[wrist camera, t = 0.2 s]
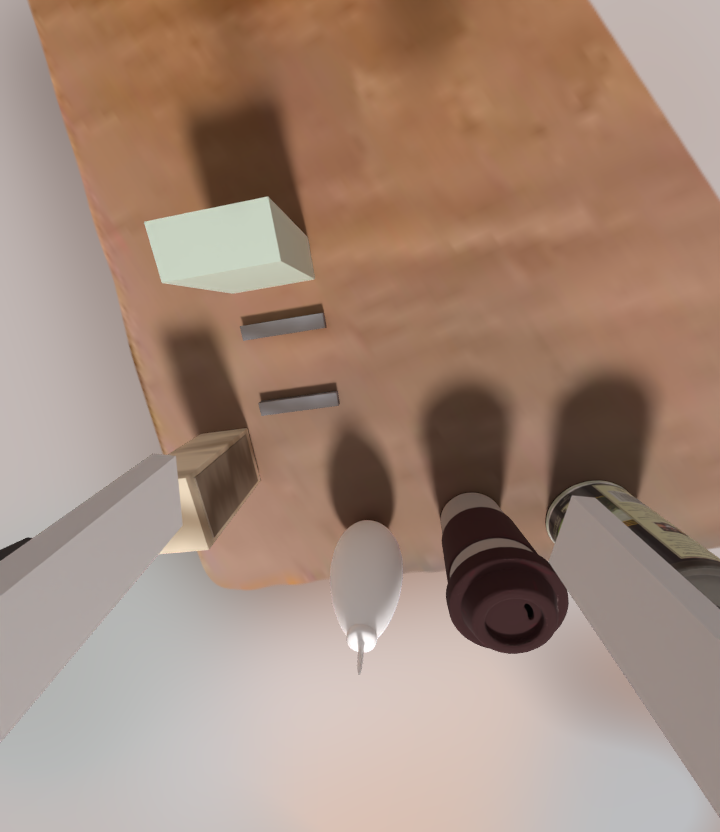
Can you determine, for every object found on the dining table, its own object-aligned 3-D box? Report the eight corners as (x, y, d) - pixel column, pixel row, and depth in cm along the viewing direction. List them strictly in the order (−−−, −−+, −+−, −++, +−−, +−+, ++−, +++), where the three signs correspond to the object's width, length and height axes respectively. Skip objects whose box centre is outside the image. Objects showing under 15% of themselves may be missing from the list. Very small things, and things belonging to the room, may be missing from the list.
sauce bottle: (343, 499, 42) (315, 626, 25) (405, 510, 42) (420, 647, 25) (334, 550, 44) (303, 700, 27) (393, 562, 44) (399, 719, 27)
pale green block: (223, 253, 35) (144, 222, 23) (307, 237, 34) (268, 196, 22) (233, 293, 36) (161, 282, 24) (315, 279, 35) (280, 261, 23)
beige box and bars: (171, 337, 38) (66, 348, 25) (323, 313, 36) (291, 311, 23) (215, 485, 43) (146, 555, 30) (351, 470, 41) (336, 538, 28)
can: (546, 558, 42) (622, 671, 29) (543, 485, 40) (626, 573, 26) (634, 549, 41) (756, 664, 28) (638, 474, 38) (775, 559, 25)
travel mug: (420, 542, 43) (439, 656, 29) (440, 473, 40) (471, 561, 26) (497, 557, 43) (554, 679, 28) (522, 489, 40) (599, 586, 26)
